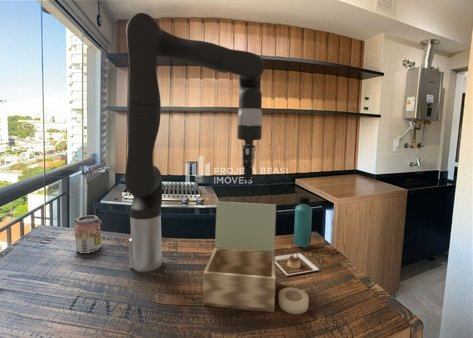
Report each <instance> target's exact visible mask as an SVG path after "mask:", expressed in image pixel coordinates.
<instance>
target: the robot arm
mask: <svg viewBox="0 0 473 338" xmlns="http://www.w3.org/2000/svg"><path fill="white" fill-rule="evenodd" d="M125 29H126V30H125V31H126V32H125V33H126V43H127V45H126V46H127V55H128V81H127V82H128V83H127V84H128V87H127V157H126V158H127V159H126V165H125V175H124V184H125V187H126V190H127V191H128V193H129V194H130V195H131V196H133V199H132V203H131V206H130V208H129V220H130V222H129V223H130V238H129V240H128V254H129V255H128V259H129V269H131V268H132V270H133V271H136V272H139V273H147V272H152V271H156V270H157V269H159V268H160V267H161V266H162V265H163V255H162V254H163V252H162V249H163V248H162V219H161V218H162V216H161V210H162V203H163V177H162V172H161V171H160V168H159V167H157V166H156V165H154V149H155V144H156V141H157V136H158V134H159V130H160V125H161V111H162V109H161V105H162V104H161V102H162V101H161V93H160V87H159V82H158V76H157V75H158V74H157V57H163V58H164V57H165V58H169V59H170V58H171V59H175V60H180V61H183V62H187V63H191V64H193V65H196V66H200V67H201V68H202V67H203V68H206V69H209V70H212V71H215V72H219V73H223V74H226V73H231V74H234V75H238V84H239V85H238V86H239V87H238V88H239V94H238V112H237V134H236V135H237V140H240V141H244V145H242V148H241V151H242V167H243V170H244V171H243V180H244V181H251V180H252V177H253V169H254V167H253V166H254V164H255V163H254V162H255V157H256V155H255V154H256V151H257V150H256V147H257V146H256V145H254V141H261V140H262V133H263V132H262V128H263V127H262V126H263V113H262V107H263V106H262V105H263V104H262V101H263V100H262V99H263V94H262V91H261V78H262V75H263V73H264V70H265V62H264V60H263V59H262V57H261V56H260V55H258V54H257V53H253V52H250V51H245V50H239V49H230V48H228V47H226V46H222V45H220V44H219V45H218V44H216V43H213V42H209V41H205V40H196V39H187V38H183V37H179V36H176V35H174V34H171V33H169V32H167V31H165V30H163V29H162V28H161V26H160V24H159V23H158V22H157V20H156V19H155V18H153V17H152V16H151V15H149V14H148V13H145V12H138V13H135V14H133V15H132V16H131V17H130V18H129V20H128V22H127V24H126V28H125Z"/></svg>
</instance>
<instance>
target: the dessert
mask: <svg viewBox="0 0 473 338" xmlns="http://www.w3.org/2000/svg"><path fill="white" fill-rule="evenodd" d="M286 259H288V260H287V263H286V266H287V267H289V268H292V269H300V268H301V267H302V265H301V261H300V260H302V261H303V262H304V263H305V264H306V265H308V266H309V267H310V268H311V270H306V271H301V272H295V273H293V272H292V273H289V274H288V273H287V271H285V269H284V268H283V267H282V266H281V265H280V264H279V262H277V261H279V260H286ZM275 266H277V267H278V268H279V269H280V270H281V271H282V273H284V275H285V276H293V275H298V274H304V273H305V274H306V273H310V272H315V271H317V272H318V271H320V268H319V267H318V266H316V265H315V264H314V263H313V262H312V261H311V260H309V259H308V258H307V257H306V256H305V255H303V254H302V253H300V252H297V253H292V254H285V255H277V256H275Z"/></svg>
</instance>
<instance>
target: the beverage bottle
mask: <svg viewBox="0 0 473 338" xmlns="http://www.w3.org/2000/svg"><path fill="white" fill-rule="evenodd" d="M298 203H299V204H298V205H296V206H295V208H294V209H295V210H294V213H295V214H294V225H293V227H294V229H293V230H294V231H293V244H294V245H295V246H297V247H299V248H300V247H301V248H307V247H310V246H311V244H312V242H311V240H312V228H313V227H312V223H313V222H312V218H313V217H312V216H313V208H312V207H311V206H310V205H308V204H311V203H310V197H309V196H305V195H300V196H299V197H298Z"/></svg>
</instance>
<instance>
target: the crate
mask: <svg viewBox="0 0 473 338" xmlns="http://www.w3.org/2000/svg"><path fill="white" fill-rule="evenodd" d="M275 254H276V253H275V252H271V251H257V250H243V249H229V248H215V247H214V248H213V250H212V253H211V255H210V258H209V259H208V262H207V264H206V267H205V268H204V271H203V276H202V277H203V279H202V280H203V281H202V282H203V288H202V289H203V291H202V293H203V294H202V296H203V297H202V298H203V300H202V302H203V306H207V307H217V308H225V309H226V308H228V309H237V310H247V311H256V312H257V311H258V312H268V313H275V298H276V264H275V261H276V260H275V257H276V255H275Z"/></svg>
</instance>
